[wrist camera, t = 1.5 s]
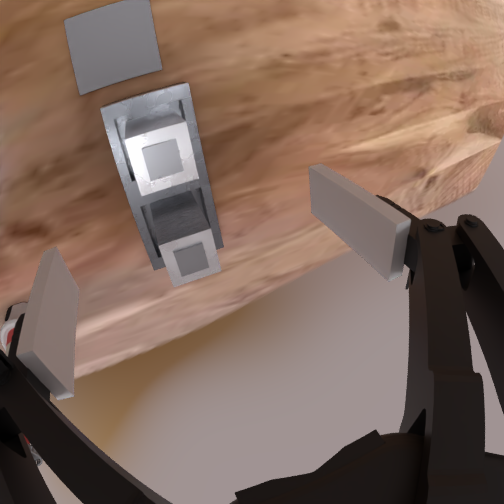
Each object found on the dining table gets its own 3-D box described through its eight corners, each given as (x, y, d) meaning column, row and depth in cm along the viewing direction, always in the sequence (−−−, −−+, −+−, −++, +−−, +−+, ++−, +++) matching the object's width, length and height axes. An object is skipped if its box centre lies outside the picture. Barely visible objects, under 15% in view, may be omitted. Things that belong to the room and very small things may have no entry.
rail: (102, 105, 29) (100, 108, 26) (183, 82, 31) (188, 82, 28) (151, 257, 40) (154, 270, 38) (217, 235, 42) (223, 247, 40)
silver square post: (149, 203, 36) (158, 247, 28) (190, 189, 37) (211, 230, 29) (161, 238, 39) (174, 289, 31) (199, 225, 40) (222, 272, 32)
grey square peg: (125, 121, 30) (124, 140, 22) (170, 108, 31) (186, 122, 23) (137, 163, 33) (141, 197, 25) (180, 150, 34) (199, 179, 26)
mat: (64, 21, 22) (63, 20, 21) (147, -5, 24) (148, -6, 23) (80, 95, 27) (80, 95, 27) (162, 69, 29) (162, 69, 28)
